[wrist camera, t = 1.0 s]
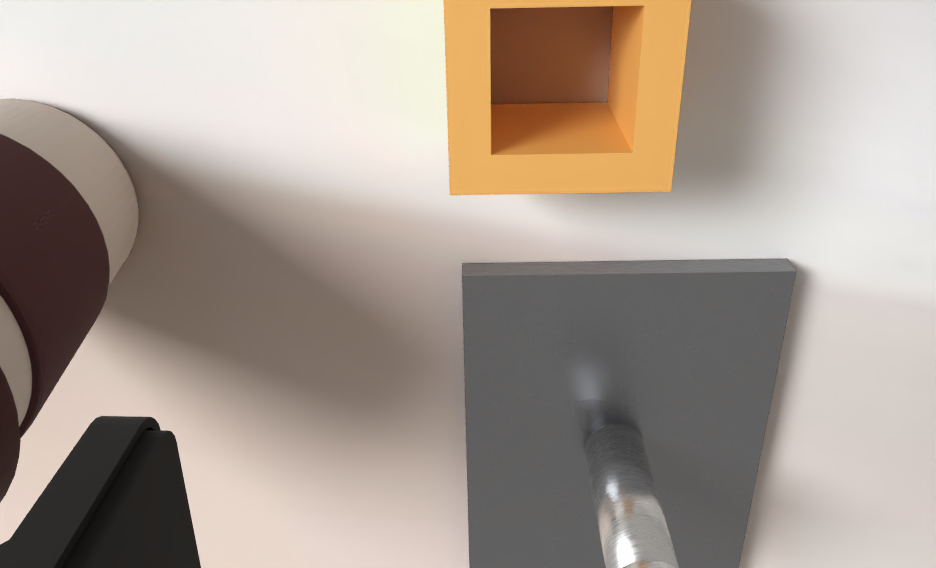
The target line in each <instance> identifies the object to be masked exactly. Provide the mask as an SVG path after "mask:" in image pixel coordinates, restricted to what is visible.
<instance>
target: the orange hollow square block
mask: <svg viewBox="0 0 936 568" xmlns="http://www.w3.org/2000/svg"><path fill="white" fill-rule="evenodd" d="M592 6H613V20H612V36H611V52H610V67H609V83H608V99H607V102H594V103H536V104H491V63H490V8H539V7H592ZM690 10H691V0H444V25H445V56H446V87H447V118H448V150H449V181H450V195H490V194H554V193H618V192H671V188H672V178H673V169H674V160H675V150H676V141H677V131H678V122H679V113H680V103H681V94H682V85H683V75H684V66H685V57H686V47H687V38H688V29H689V19H690Z"/></svg>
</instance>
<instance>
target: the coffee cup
mask: <svg viewBox="0 0 936 568" xmlns="http://www.w3.org/2000/svg"><path fill="white" fill-rule="evenodd" d="M138 224H139V209H138V202H137V197H136V193H135V189H134V186H133V184H132V181H131V179H130V177H129V174H128V172H127V171H126V169H125V167H124V166H123V164H122V162H121V161H120V159H119V158H118V156H117V155H116V153H115V152H114V151H113V150H112V148H111V147H110V146H109V145H108V144H107V143H106V142H105V141H104V140H103V139H102V138H101V137H100V136H99V135H98V134H97V133H96V132H94V131H93V130H92V129H90V128H89V127H88V126H87V125H85V124H84V123H82V122H81V121H79V120H78V119H76V118H74V117H73V116H71V115H69V114H67V113H65V112H63V111H60V110H58V109H56V108H54V107H51V106H48V105H45V104H41V103H38V102H35V101H29V100H20V99H0V502H1V501H2V499H3V498H4V496H5V495H6V493H7V491H8V489H9V486H10V484H11V482H12V480H13V478H14V476H15V471H16V467H17V463H18V459H19V452H20V438H21V437H22V436H23V435H24V433H25V432H26V431H27V430H28V428H29V427H30V426H31V424H32V423H33V421H34V420H35V418H36V416H37V415H38V413H39V411H40V410H41V408H42V407H43V405H44V403H45V402H46V400H47V398H48V397H49V395H50V394H51V392H52V390H53V389H54V387H55V385H56V384H57V382H58V381H59V379H60V377H61V376H62V374H63V373H64V371H65V369H66V368H67V366H68V364H69V363H70V361H71V360H72V358H73V356H74V355H75V353H76V351H77V350H78V348H79V347H80V345H81V343H82V342H83V340H84V339H85V337H86V335H87V334H88V332H89V330H90V329H91V327H92V326H93V324H94V322H95V321H96V319H97V317H98V315H99V313H100V311H101V309H102V307H103V305H104V302H105V300H106V296H107V291H108V287H109V285H110V284H111V282H112V281H113V279H114V277H115V276H116V274H117V273H118V271H119V270H120V268H121V266H122V265H123V263H124V262H125V260H126V259H127V257H128V255H129V254H130V252H131V250H132V247H133V245H134V242H135V238H136V235H137V229H138Z"/></svg>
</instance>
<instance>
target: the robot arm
mask: <svg viewBox="0 0 936 568" xmlns="http://www.w3.org/2000/svg"><path fill="white" fill-rule="evenodd" d="M0 568H201V566H200V561H199V555H198V550H197V545H196V540H195V535H194V530H193V525H192V519H191V514H190V509H189V504H188V499H187V494H186V489H185V483H184V478H183V473H182V468H181V463H180V458H179V453H178V447H177V442H176V439H175V436H174V434H173V433H172V432H171V431H161V430H160V427H159V424H158V423H157V421H156V420H155V419H154V418H152V417H121V416H101V417H98V418H96V419H95V420H94V421H93V422H92V423H91V424H90V425H89V427H88V428H87V430H86V431H85V433H84V434H83V435H82V437H81V438H80V440H79V441H78V443H77V444H76V445H75V447H74V448H73V450H72V451H71V453H70V454H69V455H68V457H67V458H66V460H65V461H64V463H63V464H62V465H61V467H60V468H59V470H58V471H57V473H56V474H55V475H54V477H53V478H52V480H51V481H50V483H49V484H48V485H47V487H46V488H45V490H44V491H43V493H42V494H41V495H40V497H39V498H38V500H37V501H36V503H35V504H34V505H33V507H32V508H31V510H30V511H29V513H28V514H27V515H26V517H25V518H24V520H23V521H22V523H21V524H20V526H19V527H18V528H17V530H16V531H15V533H14V534H13V536H12V537H11V538H10V540H8V541H6V542H4V543H3V544H1V545H0Z"/></svg>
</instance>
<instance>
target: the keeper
mask: <svg viewBox="0 0 936 568" xmlns="http://www.w3.org/2000/svg"><path fill="white" fill-rule="evenodd" d="M795 275H796V270H795V269H794V267H793V266H792V265H791V263H790V262H789V261H788V259H729V260H661V261H592V262H523V263H462V289H463V328H464V367H465V406H466V445H467V484H468V524H469V563H470V568H739V562H740V557H741V552H742V547H743V542H744V537H745V532H746V527H747V521H748V516H749V511H750V506H751V501H752V496H753V491H754V486H755V480H756V475H757V470H758V465H759V460H760V455H761V450H762V445H763V439H764V434H765V429H766V424H767V419H768V414H769V409H770V404H771V398H772V393H773V388H774V383H775V378H776V373H777V368H778V363H779V357H780V352H781V347H782V342H783V337H784V332H785V327H786V321H787V316H788V311H789V306H790V301H791V296H792V291H793V286H794V280H795Z"/></svg>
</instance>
